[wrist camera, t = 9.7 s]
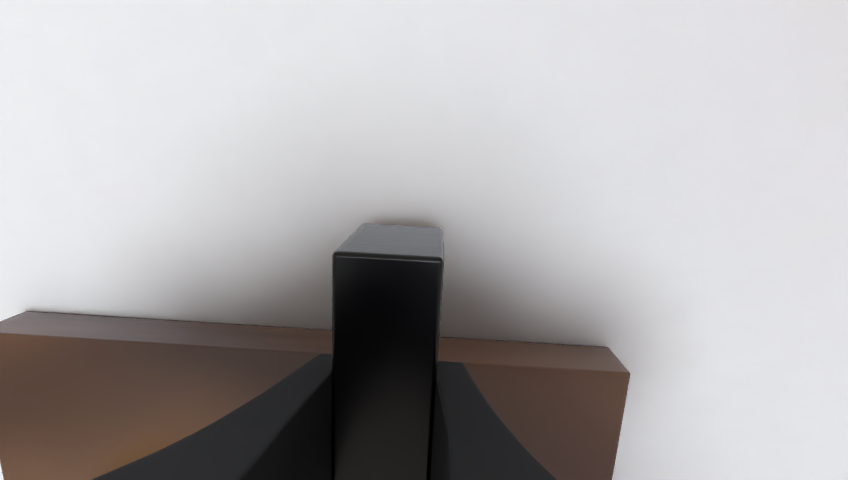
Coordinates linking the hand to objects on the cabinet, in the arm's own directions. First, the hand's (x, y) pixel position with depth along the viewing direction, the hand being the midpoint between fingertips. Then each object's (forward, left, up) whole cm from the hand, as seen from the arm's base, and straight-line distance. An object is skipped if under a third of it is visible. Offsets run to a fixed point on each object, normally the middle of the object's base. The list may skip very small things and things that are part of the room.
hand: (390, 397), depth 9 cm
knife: (-5, 0, -2) cm, 6 cm away
